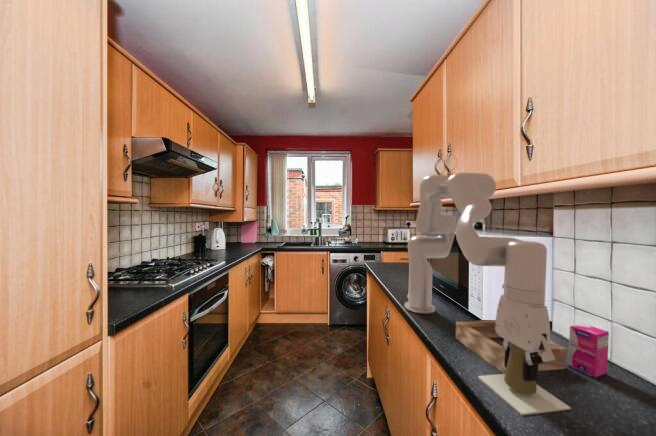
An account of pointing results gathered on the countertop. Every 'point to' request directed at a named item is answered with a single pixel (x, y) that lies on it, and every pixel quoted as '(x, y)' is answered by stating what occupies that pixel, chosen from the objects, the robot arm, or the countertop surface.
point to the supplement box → (588, 350)
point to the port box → (479, 342)
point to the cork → (518, 371)
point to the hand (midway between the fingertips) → (520, 372)
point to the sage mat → (524, 397)
